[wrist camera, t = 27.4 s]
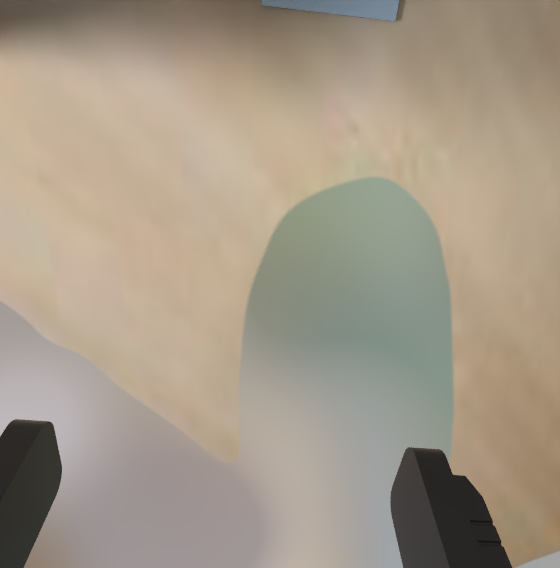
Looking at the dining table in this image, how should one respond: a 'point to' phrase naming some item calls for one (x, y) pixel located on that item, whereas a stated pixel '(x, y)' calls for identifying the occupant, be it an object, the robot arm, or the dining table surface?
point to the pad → (343, 7)
